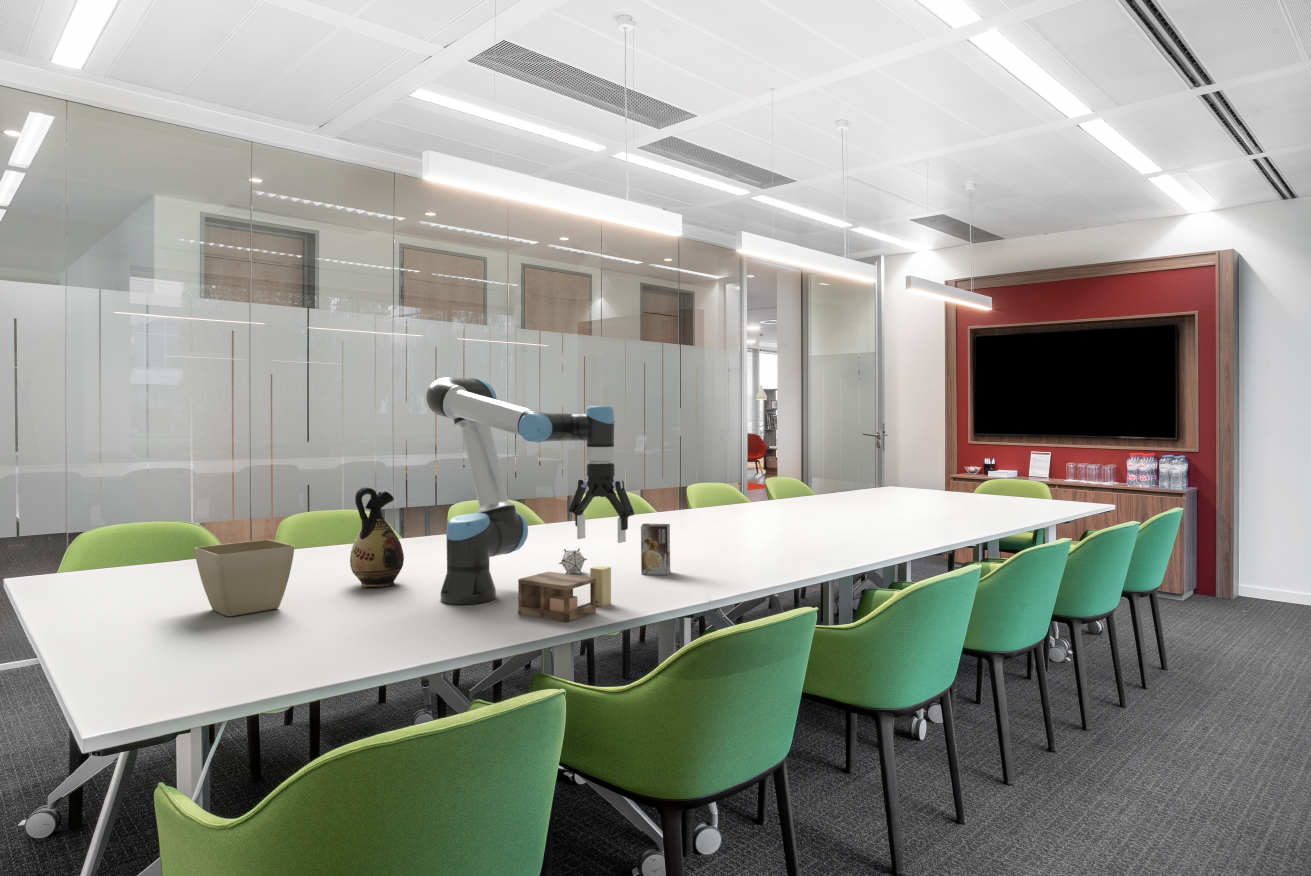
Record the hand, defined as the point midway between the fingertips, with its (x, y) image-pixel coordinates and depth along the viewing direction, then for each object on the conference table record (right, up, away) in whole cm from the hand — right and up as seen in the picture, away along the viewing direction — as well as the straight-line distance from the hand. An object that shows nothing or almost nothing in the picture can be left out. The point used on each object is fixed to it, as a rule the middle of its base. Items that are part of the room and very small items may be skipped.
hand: (601, 540), depth 210 cm
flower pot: (-94, -18, -6) cm, 96 cm away
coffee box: (+15, -17, +43) cm, 49 cm away
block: (-5, -18, -7) cm, 19 cm away
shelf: (-11, -18, -9) cm, 23 cm away
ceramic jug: (-71, -17, +24) cm, 77 cm away
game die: (-12, -17, +43) cm, 48 cm away
